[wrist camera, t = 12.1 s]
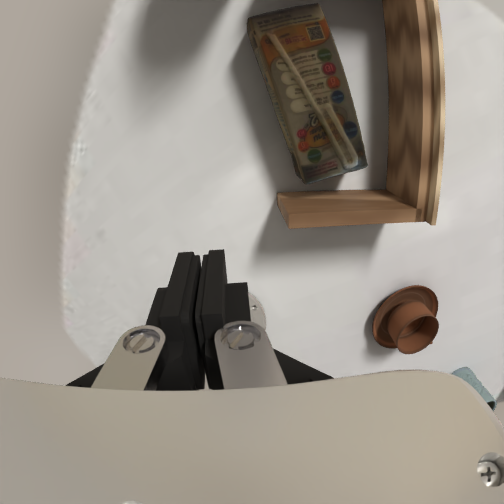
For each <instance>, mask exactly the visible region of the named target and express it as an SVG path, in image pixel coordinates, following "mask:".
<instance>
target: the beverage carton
mask: <svg viewBox="0 0 504 504" xmlns="http://www.w3.org/2000/svg"><path fill="white" fill-rule="evenodd" d="M247 32H248V35H249V38H250V41H251V44H252V47H253V50H254V53H255V55H256V59H257V61H258V64H259V67H260V69H261V72H262V75H263V77H264V80H265V83H266V86H267V89H268V92H269V95H270V97H271V100H272V104H273V106H274V109H275V112H276V115H277V118H278V121H279V123H280V126H281V129H282V132H283V134H284V137H285V140H286V143H287V146H288V148H289V151H290V153H291V155H292V159H293V163H294V167H295V172H296V174H297V176H298V177H299V178H300V179H301V180H302V181H303V182H304V183H305V184H310V183H313V182H317V181H320V180H323V179H326V178H329V177H333V176H336V175H340V174H345V173H348V172H353V171H356V170H360V169H363V168H366V167H367V166H368V164H367V160H366V155H365V149H364V144H363V141H362V136H361V131H360V127H359V123H358V120H357V115H356V111H355V108H354V104H353V100H352V97H351V93H350V89H349V86H348V82H347V79H346V76H345V72H344V69H343V66H342V63H341V60H340V57H339V54H338V51H337V48H336V45H335V42H334V39H333V37H332V34H331V31H330V29H329V26H328V24H327V21H326V18H325V16H324V14H323V11H322V9H321V7H320V4H318V3H316V4H309V5H302V6H296V7H290V8H286V9H281V10H277V11H273V12H269V13H265V14H261V15H257V16H253V17H250V18H248V22H247Z"/></svg>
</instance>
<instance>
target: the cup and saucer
mask: <svg viewBox="0 0 504 504" xmlns="http://www.w3.org/2000/svg"><path fill="white" fill-rule="evenodd" d="M437 311H438V300H437V297H436V295H435V293H434V292H433V291H432V290H430V289H429V288H427V287H424V286H419V285H414V286H409V287H406V288H403V289H401V290H399V291H397V292H396V293H394V294H393V295H391V296H390V297H389V298H388V299H387V300H386V301H385V302H384V303H383V304H382V305H381V307H380V308H379V310H378V311H377V313H376V315H375V318H374V321H373V327H372V328H373V335H374V338H375V340H376V341H377V343H379V344H380V345H381V346H383V347H386V348H398V349H399V351H400V352H402V353H404V354H413V353H417V352H419V351H421V350H423V349H424V348H426V347H427V346H428V345H429V344H432V343H433V342H432V341H433V339H434V338H435V336H436V334H437V332H438V328H439V323H438V320H437V319H436V318H435V317H436V315H437Z"/></svg>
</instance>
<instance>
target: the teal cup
mask: <svg viewBox="0 0 504 504" xmlns="http://www.w3.org/2000/svg"><path fill="white" fill-rule="evenodd" d="M452 375H455V376H457V377H460V378H462V379H463V380H464V381H466V382H467V383H468V384H470V385H471V386H472V387H473V388H474V389H475V390H476V391H477V392H478V393H479V394H480V395H481V397H482V398H483V399H484V400H485V401H486V403H487V404H488V405H489V406H490V408H491V409H492V411H494V410H495V408H496V405H497V402H496V400H495V399H494V398H493V397H492V395H491V394H490V393H489V392H488V391H487V390H486V388H485V387H484V386H482V384H481V382H480V381H479V380H478V379H477V378H476V376H475V374H474V373H473V372H472V371H471V370H470V369H469V368H468V367H463V368H460V369H458V370H456V371H454V372H453V373H452Z"/></svg>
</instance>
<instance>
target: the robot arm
mask: <svg viewBox="0 0 504 504" xmlns="http://www.w3.org/2000/svg"><path fill="white" fill-rule="evenodd" d="M265 330H266V318H265V313H264V310H263V308H262V306H261V304H260V302H259V301H258V300H257V299H256V298H255V297H254V296H253V295H251V294H250V293H249V292H248V286H247V282H244V283H230V284H227V274H226V263H225V253H224V249H223V250H209V254H208V255H203V261H202V268H201V262H200V256H199V255H194V252H182V253H178V255H177V258H176V262H175V265H174V268H173V271H172V275H171V278H170V281H169V284H168V287H166V288H158V290H157V292H156V295H155V298H154V301H153V304H152V307H151V310H150V313H149V316H148V319H147V322H146V325H145V326H138V327H134V328H132V329H130V330H128V331H127V332H125V333H124V334H123V335H122V336H121V337H120V338H119V340H118V342H117V343H116V345H115V347H114V348H113V350H112V352H111V354H110V355H109V357H108V359H107V360H106V362H105V363H104V364H103V365H101V366H99V367H97V368H95V369H94V370H92V371H90V372H88V373H87V374H85V375H83V376H82V377H80V378H78V379H76V380H74V381H72V382H71V383H69V384H67V385H66V386H63V385H53V384H44V383H36V382H29V381H23V380H14V379H5V378H0V504H504V427H503V425H502V424H501V422H500V421H499V419H498V418H497V416H496V415H495V414H494V412H493V411H492V409H491V408H490V406H489V405H488V404H487V403H486V401H485V400H484V399H483V398H482V397H481V395H480V394H479V393H478V392H477V391H476V390H475V389H474V388H473V387H472V386H471V385H470V384H468V383H467V382H466V381H464V380H463V379H462V378H460V377H457V376H455V375H452V374H448V373H444V372H439V371H429V370H395V371H385V372H377V373H370V374H364V375H357V376H350V377H342V378H335V379H334V378H333V377H331V376H329V375H327V374H325V373H322V372H320V371H318V370H316V369H314V368H312V367H310V366H308V365H306V364H303V363H301V362H299V361H297V360H295V359H293V358H291V357H289V356H287V355H285V354H283V353H281V352H279V351H277V350H275V349H273V348H272V345H271V343H270V341H269V338H268V336H267V333H266V331H265Z"/></svg>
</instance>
